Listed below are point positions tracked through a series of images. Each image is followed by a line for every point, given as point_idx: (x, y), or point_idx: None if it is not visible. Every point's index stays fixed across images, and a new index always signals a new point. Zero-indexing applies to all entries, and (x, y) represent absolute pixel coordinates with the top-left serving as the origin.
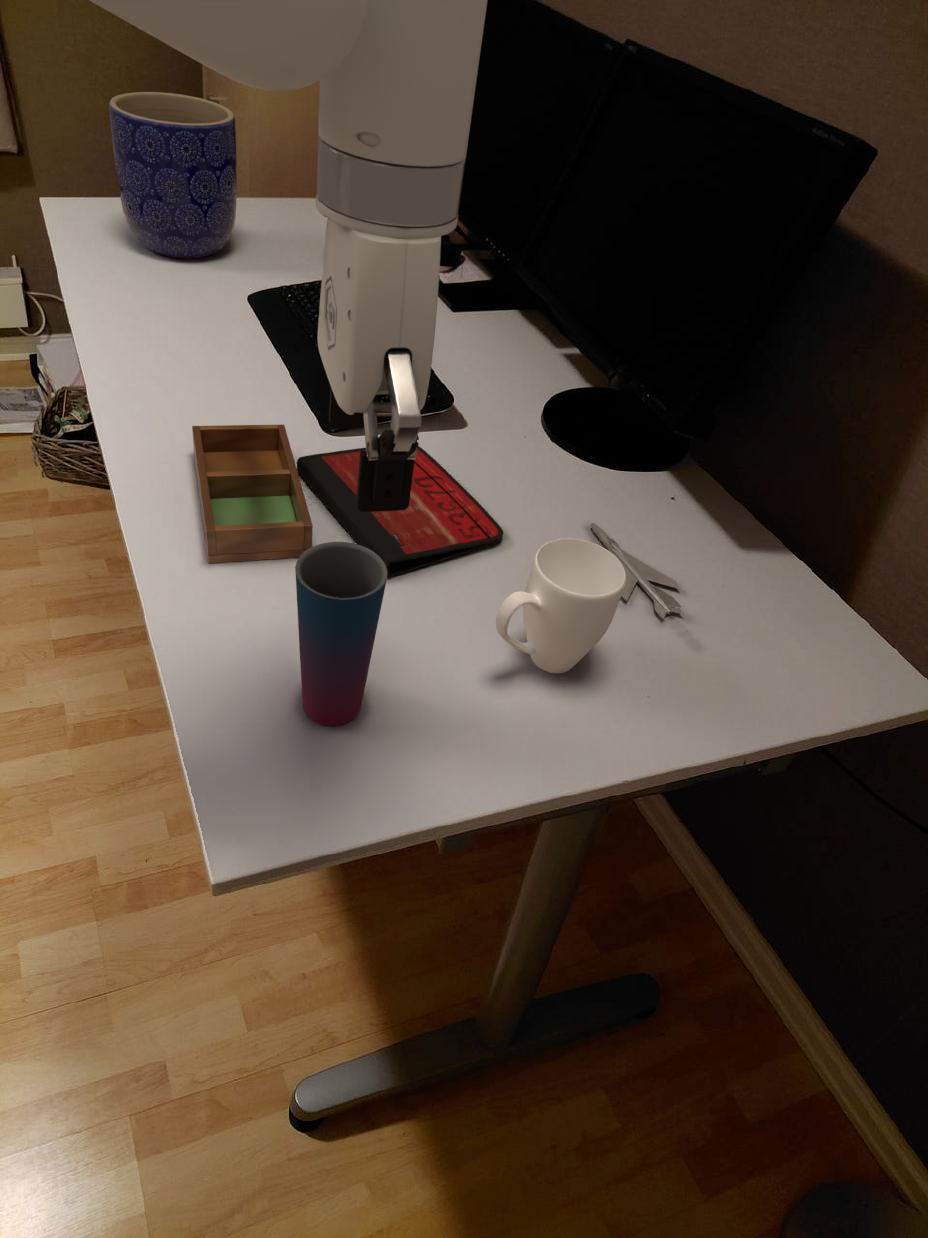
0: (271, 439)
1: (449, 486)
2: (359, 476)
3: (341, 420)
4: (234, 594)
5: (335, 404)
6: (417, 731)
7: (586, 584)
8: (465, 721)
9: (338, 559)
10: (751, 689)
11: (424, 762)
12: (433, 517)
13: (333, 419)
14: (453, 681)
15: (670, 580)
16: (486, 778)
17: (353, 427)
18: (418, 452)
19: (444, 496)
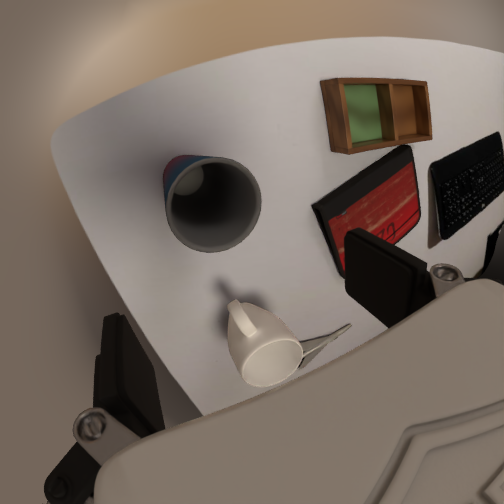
0: (422, 130)
1: None
2: (106, 357)
3: (353, 251)
4: (290, 98)
5: (372, 253)
6: (166, 237)
7: (278, 349)
8: (180, 267)
9: (249, 195)
10: (228, 398)
11: (140, 244)
12: None
13: (353, 240)
14: (215, 257)
15: (305, 365)
16: (135, 282)
17: (345, 264)
18: (413, 223)
19: None
